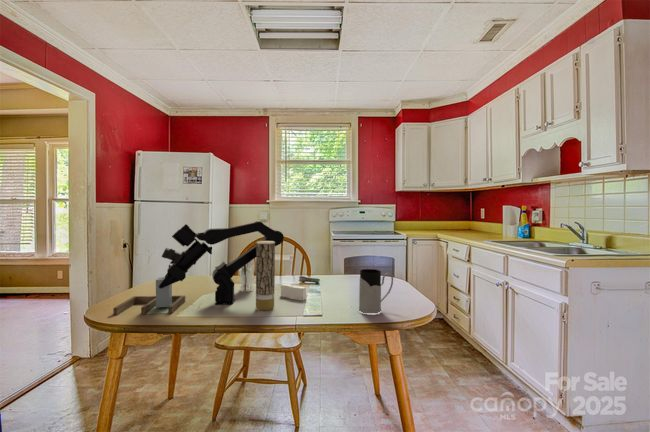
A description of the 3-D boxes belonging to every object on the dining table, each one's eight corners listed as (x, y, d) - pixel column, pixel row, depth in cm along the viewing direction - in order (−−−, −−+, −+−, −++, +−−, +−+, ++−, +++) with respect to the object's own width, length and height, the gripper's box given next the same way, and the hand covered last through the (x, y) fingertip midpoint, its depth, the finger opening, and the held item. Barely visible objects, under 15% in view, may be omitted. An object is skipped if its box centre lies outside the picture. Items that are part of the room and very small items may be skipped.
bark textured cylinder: (258, 312, 118) (259, 242, 118) (253, 307, 124) (254, 241, 124) (276, 309, 121) (277, 242, 121) (270, 304, 127) (271, 240, 127)
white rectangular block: (312, 301, 135) (312, 287, 135) (286, 304, 130) (286, 290, 129) (298, 292, 148) (298, 280, 148) (274, 295, 143) (274, 282, 143)
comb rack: (185, 301, 130) (185, 295, 130) (172, 313, 115) (172, 306, 115) (133, 302, 128) (133, 296, 128) (113, 315, 113) (113, 308, 113)
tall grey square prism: (171, 303, 124) (171, 276, 124) (169, 306, 119) (169, 279, 119) (158, 304, 123) (158, 277, 123) (155, 307, 118) (155, 279, 118)
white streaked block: (250, 292, 145) (250, 258, 145) (236, 291, 147) (236, 258, 146) (256, 288, 152) (257, 256, 152) (242, 288, 153) (243, 256, 153)
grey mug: (353, 309, 123) (354, 269, 122) (385, 305, 128) (386, 267, 128) (365, 316, 115) (366, 274, 114) (399, 312, 120) (399, 271, 120)
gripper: (176, 238, 131) (145, 267, 127) (175, 242, 114) (138, 276, 110) (197, 256, 134) (168, 286, 130) (199, 264, 117) (165, 298, 113)
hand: (160, 286), depth 121 cm, fingers closed on tall grey square prism, 5 cm apart
